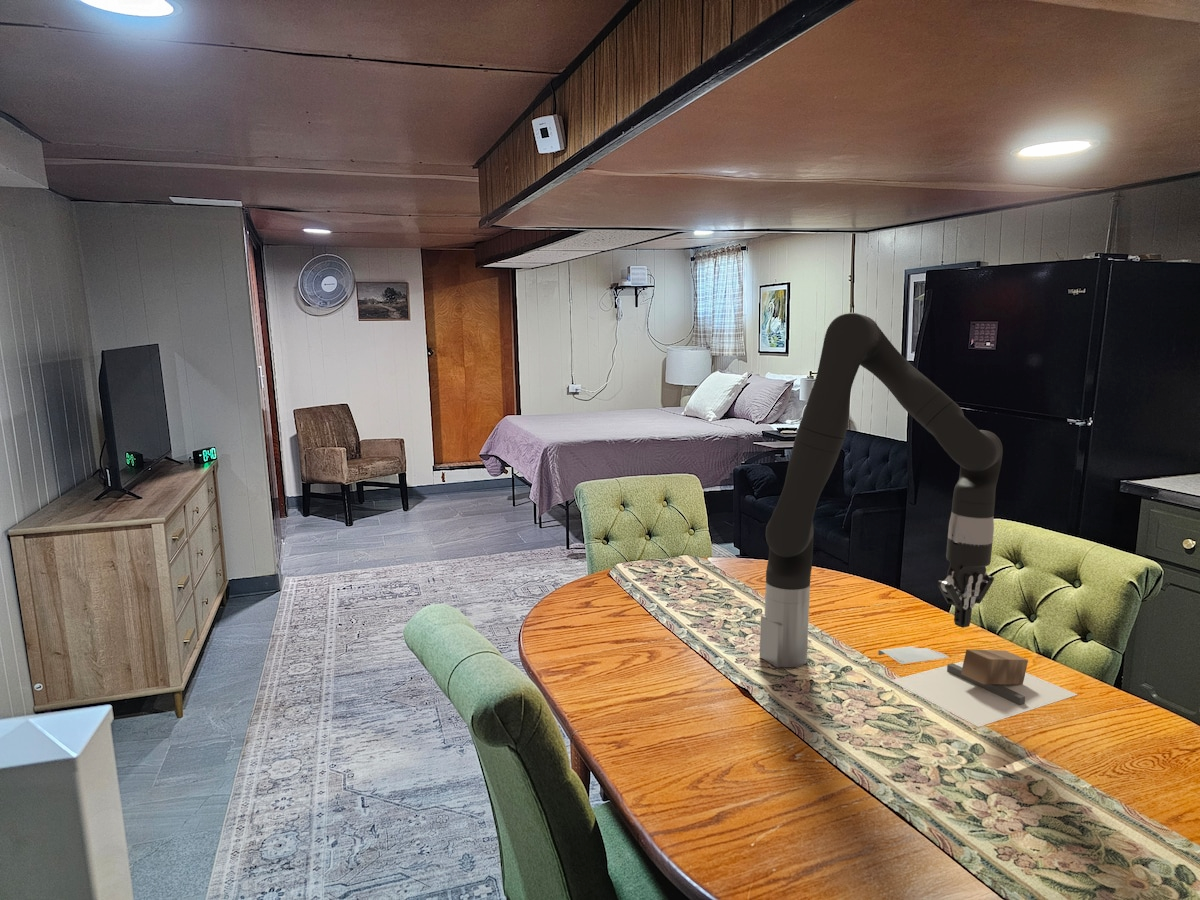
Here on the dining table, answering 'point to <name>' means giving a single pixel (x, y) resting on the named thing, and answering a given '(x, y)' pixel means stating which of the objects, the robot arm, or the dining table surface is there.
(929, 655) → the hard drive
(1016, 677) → the walnut block
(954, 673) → the grey board
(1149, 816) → the dining table surface
